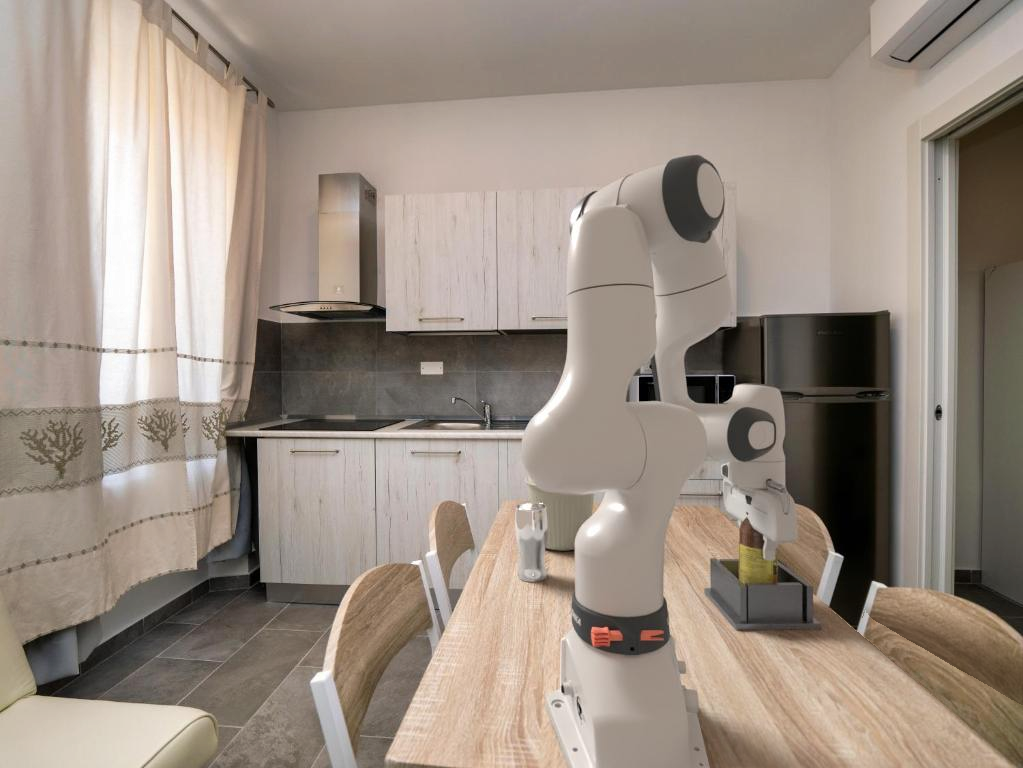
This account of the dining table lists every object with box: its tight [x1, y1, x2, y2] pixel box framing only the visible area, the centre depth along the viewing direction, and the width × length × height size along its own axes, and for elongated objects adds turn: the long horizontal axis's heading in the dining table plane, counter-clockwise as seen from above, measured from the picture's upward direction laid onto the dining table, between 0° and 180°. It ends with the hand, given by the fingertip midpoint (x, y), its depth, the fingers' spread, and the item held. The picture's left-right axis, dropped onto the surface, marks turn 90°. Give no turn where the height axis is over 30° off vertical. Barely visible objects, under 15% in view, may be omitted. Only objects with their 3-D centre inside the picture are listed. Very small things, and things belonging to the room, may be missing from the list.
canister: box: [524, 476, 595, 552], centre depth 126 cm, size 18×18×21 cm
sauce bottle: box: [738, 495, 779, 585], centre depth 90 cm, size 7×6×20 cm
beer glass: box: [514, 501, 548, 583], centre depth 106 cm, size 7×7×15 cm
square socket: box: [703, 557, 822, 631], centre depth 90 cm, size 14×14×7 cm
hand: (757, 551), depth 90 cm, fingers open, 6 cm apart
